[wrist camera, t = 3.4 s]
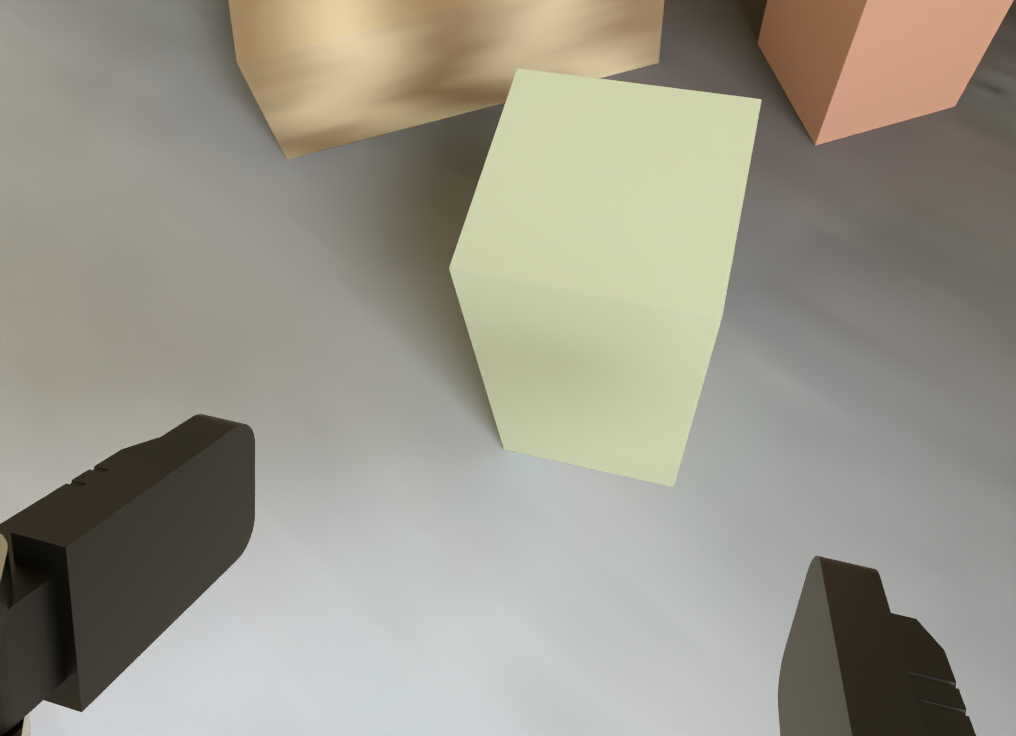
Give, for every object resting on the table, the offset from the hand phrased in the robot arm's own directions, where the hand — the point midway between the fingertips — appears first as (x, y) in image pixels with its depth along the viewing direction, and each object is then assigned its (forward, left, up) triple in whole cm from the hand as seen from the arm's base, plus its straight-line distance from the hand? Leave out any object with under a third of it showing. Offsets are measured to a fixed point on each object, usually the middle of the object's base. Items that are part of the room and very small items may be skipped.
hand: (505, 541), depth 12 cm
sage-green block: (-4, -7, -11) cm, 14 cm away
